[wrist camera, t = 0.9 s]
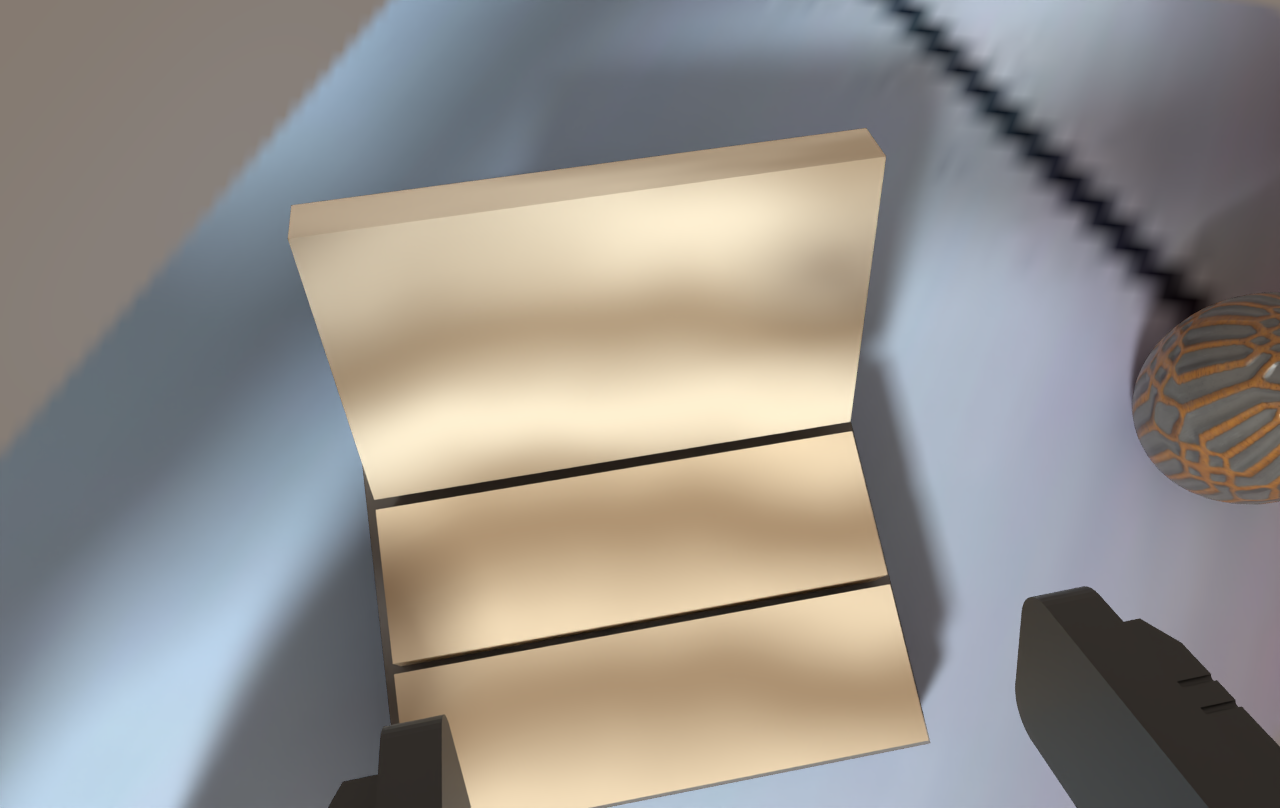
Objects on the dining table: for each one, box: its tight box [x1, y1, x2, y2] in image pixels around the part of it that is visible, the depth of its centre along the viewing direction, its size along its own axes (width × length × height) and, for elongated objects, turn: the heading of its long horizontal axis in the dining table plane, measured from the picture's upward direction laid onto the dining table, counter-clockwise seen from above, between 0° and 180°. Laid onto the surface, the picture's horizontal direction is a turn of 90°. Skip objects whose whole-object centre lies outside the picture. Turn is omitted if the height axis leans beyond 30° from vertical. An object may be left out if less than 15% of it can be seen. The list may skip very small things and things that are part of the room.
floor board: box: [362, 421, 930, 808], centre depth 35 cm, size 20×16×4 cm
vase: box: [1132, 292, 1280, 504], centre depth 34 cm, size 7×7×9 cm
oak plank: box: [288, 128, 886, 500], centre depth 30 cm, size 10×15×2 cm
